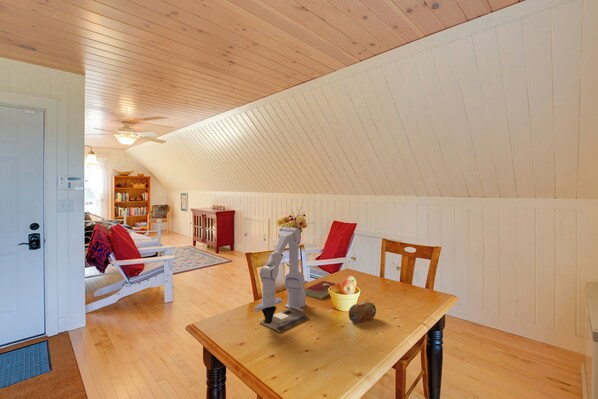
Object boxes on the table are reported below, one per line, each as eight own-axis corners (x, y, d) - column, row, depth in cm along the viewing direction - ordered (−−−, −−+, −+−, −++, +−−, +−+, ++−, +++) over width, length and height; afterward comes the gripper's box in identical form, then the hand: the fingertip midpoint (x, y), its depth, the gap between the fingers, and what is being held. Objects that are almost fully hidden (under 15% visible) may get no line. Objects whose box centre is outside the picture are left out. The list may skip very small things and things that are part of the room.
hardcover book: (303, 295, 174) (303, 288, 174) (322, 286, 191) (322, 279, 190) (320, 300, 167) (320, 292, 167) (338, 290, 183) (339, 283, 183)
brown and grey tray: (290, 310, 150) (290, 303, 150) (309, 318, 141) (309, 310, 141) (259, 323, 135) (260, 315, 135) (279, 333, 127) (279, 324, 126)
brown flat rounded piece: (351, 325, 135) (351, 307, 135) (347, 322, 138) (347, 304, 138) (376, 319, 142) (376, 301, 142) (371, 316, 145) (372, 299, 145)
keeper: (280, 317, 140) (280, 312, 140) (288, 321, 136) (289, 315, 136) (272, 321, 136) (272, 315, 136) (281, 325, 132) (281, 319, 132)
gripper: (274, 286, 138) (274, 315, 138) (250, 294, 127) (249, 325, 128) (285, 290, 133) (284, 319, 134) (260, 298, 123) (260, 330, 123)
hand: (268, 322), depth 130 cm, fingers closed
